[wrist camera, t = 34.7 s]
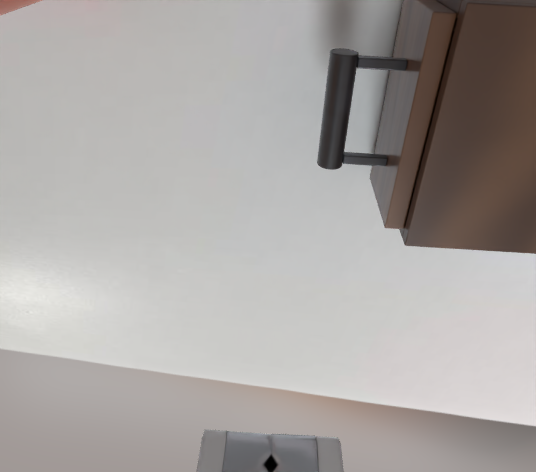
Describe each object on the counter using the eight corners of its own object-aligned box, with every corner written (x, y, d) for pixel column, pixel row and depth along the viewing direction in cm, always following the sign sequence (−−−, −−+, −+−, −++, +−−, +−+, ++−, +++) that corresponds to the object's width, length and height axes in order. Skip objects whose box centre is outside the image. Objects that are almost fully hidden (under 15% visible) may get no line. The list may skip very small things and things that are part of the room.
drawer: (310, 174, 36) (314, 224, 30) (331, -13, 29) (341, 5, 23) (564, 190, 36) (616, 242, 30) (647, 6, 29) (735, 29, 23)
